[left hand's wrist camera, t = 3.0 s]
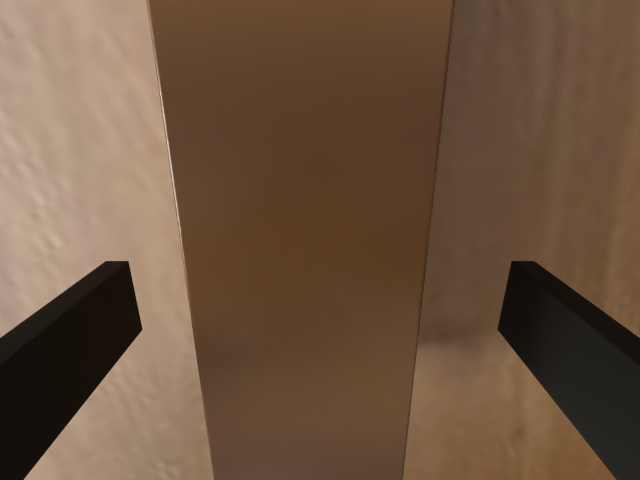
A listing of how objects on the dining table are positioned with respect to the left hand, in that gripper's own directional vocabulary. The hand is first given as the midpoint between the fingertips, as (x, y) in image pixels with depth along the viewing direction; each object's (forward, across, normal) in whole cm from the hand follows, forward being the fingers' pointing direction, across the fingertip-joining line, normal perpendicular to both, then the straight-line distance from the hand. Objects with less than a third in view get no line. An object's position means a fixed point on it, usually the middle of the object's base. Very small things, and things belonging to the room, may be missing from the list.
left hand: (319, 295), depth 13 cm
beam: (+4, 0, -24) cm, 24 cm away
